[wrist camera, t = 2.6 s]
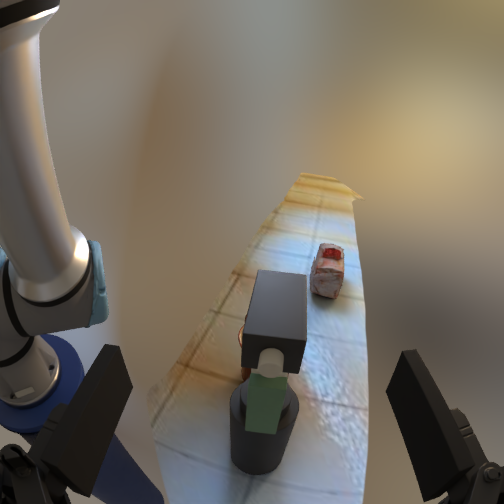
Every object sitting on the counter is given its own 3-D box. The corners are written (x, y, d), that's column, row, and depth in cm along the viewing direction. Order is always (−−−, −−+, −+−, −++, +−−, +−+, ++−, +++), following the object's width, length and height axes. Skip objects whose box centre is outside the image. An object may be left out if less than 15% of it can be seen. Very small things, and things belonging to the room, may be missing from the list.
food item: (340, 303, 65) (349, 266, 61) (306, 298, 67) (312, 260, 62) (339, 272, 77) (346, 239, 72) (310, 268, 78) (315, 234, 74)
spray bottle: (277, 494, 28) (337, 359, 15) (222, 487, 29) (206, 343, 15) (284, 436, 36) (327, 266, 23) (235, 429, 37) (239, 256, 24)
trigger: (275, 434, 22) (286, 390, 18) (244, 430, 22) (247, 385, 19) (276, 423, 23) (287, 376, 19) (247, 419, 23) (250, 372, 20)
